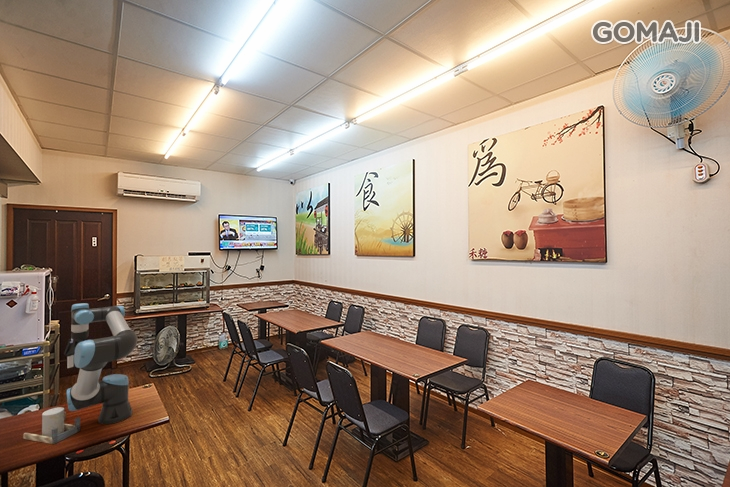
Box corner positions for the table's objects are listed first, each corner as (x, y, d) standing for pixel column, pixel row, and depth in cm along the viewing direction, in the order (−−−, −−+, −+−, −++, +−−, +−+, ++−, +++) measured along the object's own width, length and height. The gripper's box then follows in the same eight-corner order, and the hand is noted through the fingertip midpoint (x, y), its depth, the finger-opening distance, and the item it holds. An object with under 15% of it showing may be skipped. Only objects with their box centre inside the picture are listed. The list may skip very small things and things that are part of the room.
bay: (80, 430, 172) (80, 417, 172) (53, 444, 161) (54, 429, 161) (50, 426, 177) (51, 412, 177) (23, 438, 165) (23, 424, 165)
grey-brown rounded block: (66, 419, 184) (66, 406, 184) (58, 423, 180) (58, 409, 180) (56, 417, 185) (56, 404, 185) (47, 421, 181) (47, 408, 181)
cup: (50, 440, 164) (50, 416, 164) (37, 438, 166) (37, 414, 166) (68, 431, 172) (68, 408, 172) (55, 429, 174) (55, 406, 174)
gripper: (104, 330, 189) (103, 367, 189) (70, 328, 195) (69, 364, 195) (90, 334, 182) (90, 372, 182) (55, 331, 187) (55, 368, 187)
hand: (79, 368), depth 188 cm, fingers open, 13 cm apart
